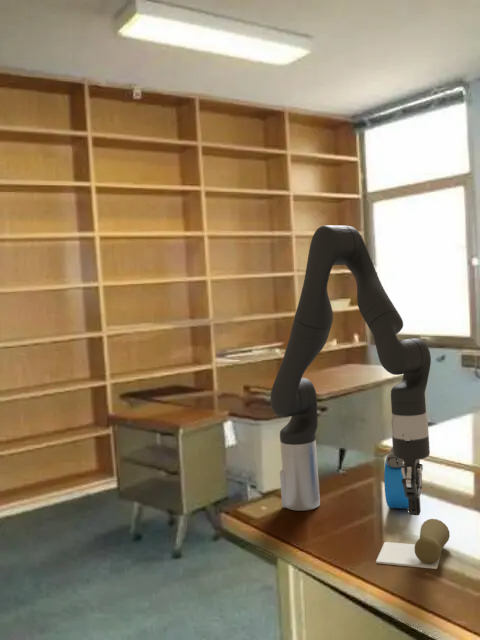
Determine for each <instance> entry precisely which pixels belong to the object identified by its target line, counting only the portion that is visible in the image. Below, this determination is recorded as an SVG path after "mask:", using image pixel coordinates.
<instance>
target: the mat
mask: <svg viewBox="0 0 480 640" xmlns="http://www.w3.org/2000/svg"><path fill="white" fill-rule="evenodd" d="M415 544H416V543H415ZM415 544H412V543H401V542H389V541H384V543H383V544H382V547H381V549H380V552H379V553H378V555H377V558H376V560H375V564H381V565H391V566H392V565H393V566H400V567H410V568H411V567H413V568H422V569H424V568H425V569H433V570H438V567H439V562H440V558H441V557H440V558H439V559H438V561H436V562H435V563H432V564H426V563H424V562H422V561H420V560H419V559H418V558H417V556H416V554H415V549H414V547H415ZM442 550H443V548H442V549H441V552H442Z"/></svg>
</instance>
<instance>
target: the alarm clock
mask: <svg viewBox="0 0 480 640" xmlns="http://www.w3.org/2000/svg"><path fill="white" fill-rule="evenodd" d="M403 463H404V460H403V459H401V458H400V459H399V458H397V457H395V456H394V455H393V446H392V447H391V448H390V450H389V453H388V454H387V455H386V457H385V462H384V477H383V478H384V483H383V484H384V497H385V502H386V506H387V507H388V508H389V509H405V510H407V512H408V511H409V502H408V498H406V496H405V492H404V488H403V484H402V479H403V475H402V471H401V467H402V466H403Z"/></svg>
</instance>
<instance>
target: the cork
mask: <svg viewBox="0 0 480 640" xmlns="http://www.w3.org/2000/svg"><path fill="white" fill-rule="evenodd" d="M450 537H451V535H450V529H449V528H448V526H447V525H446V524H445V523H444V522H443V521H442V520H439V519H436V518H430V519H427V520H424V521H423V523H422V524H421V526H420V531H419V538H418V539H417V541H416V542H415V547H414V549H415V554H416V556H417V558H418V559H419V560H420V561H422V562H424V563H426V564H432V563H435V562H436V561H438V559H439V558H441V556H442V551H441V549H442V550H443V548H444V547H445V546H446V544H447V543H448V541H449V540H450ZM439 560H440V559H439Z"/></svg>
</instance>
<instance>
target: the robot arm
mask: <svg viewBox="0 0 480 640" xmlns="http://www.w3.org/2000/svg"><path fill="white" fill-rule="evenodd" d="M333 266H346V267H347V269H348V270H349V272H350V273H351V274H352V275H353V277H354V280H355V284H356V302H357V307H358V310H359V313H360V316H362V319H363V320H364V322H365V324H366V325H367V327H368V328H369V331H370V332H371V333H372V337H373V341H374V344H375V348H376V352H377V353H376V354H377V356H378V359H379V362H380V365H381V366H382V368H384V370H385V371H387V373H389V374H391V375H395V376H399V375H403V376H402V379H401V381H400V382H399V383H397V384H395V385H394V386H393V387H392V388H391V389H390V405H391V419H390V421H391V422H390V424H391V440H392V441H391V442H392V447H393V455H394V456H395V457H397V458H399V459H400V458H401V459H403V460H404V463H403V466H402V467H401V471H402V475H403V479H402V484H403V488H404V492H405V496H406V498H408V502H409V513H408V514H409V515H411V516H420V515H421V511H422V510H421V495H422V489H423V486H422V484H423V470H424V464H423V463H422V462H420V460H423V459H427V458H428V457H429V456H430V453H431V450H430V436H429V421H428V417H427V408H426V407H427V406H426V389H427V385H428V381H429V375H430V371H431V365H432V364H431V363H432V358H431V352H430V349H429V346H428V345H427V343H425V341H424V340H423V339H420V338H416V337H415V338H407V339H401V340H400V339H398V337H397V334H399V333H400V332H401V331H402V329H403V327H404V321H403V318H402V317H401V315H400V313H399V312H398V310H397V308H396V307H395V305H394V304H393V302H392V301H391V299H390V297H389V295H388V294H387V292H386V290H385V288H384V286H383V284H382V282H381V280H380V278H379V276H378V273H377V270H376V268H375V265H374V263H373V261H372V258H371V255H370V253H369V251H368V248H367V245H366V243H365V241H364V239H363V237H362V235H361V233H360V232H359V230H358V229H356V228H355V227H354V226H350V225H332V224H331V225H329V224H328V225H321V226H320V227H318V228H316V230H315V231H314V232H313V235H312V238H311V241H310V245H309V250H308V255H307V261H306V269H305V274H304V279H303V284H302V288H301V292H300V296H299V301H298V305H297V308H296V310H295V315H294V318H293V322H292V325H291V329H290V334H289V338H288V341H287V344H286V348H285V351H284V355H283V357H282V360H281V364H280V366H279V369H278V372H277V374H276V377H275V379H274V382H273V384H272V388H271V391H270V401H269V402H270V406H271V410H272V411H273V413H274V414H275V415H276V416H278V417H281V418H288V417H291V418H290V420H289V421H288V423H287V424H286V425H285V426H284V427H282V428H281V430H279V441H280V453H281V458H280V459H281V470H280V472H279V481H280V494H281V506H282V508H283V509H284V508H285V509H288V510H292V511H297V512H299V511H301V512H302V511H310V510H311V511H312V510H314V509H316V508H318V507H319V506H321V499H320V498H321V496H320V480H319V469H318V453H317V440H316V433H317V430H318V398H317V397H318V395H317V391H316V389H315V385H314V383H312V381H311V380H310V379H308V378H306V377H303V376H304V373H306V370H307V369H308V367H309V366H310V365H311V364H312V363H313V361H314V360H315V359H316V358H317V356H318V355H319V353H321V352H322V350H323V348H324V347H325V345H326V343H327V341H328V338H329V336H330V332H331V328H332V324H333V321H334V312H333V307H332V303H331V300H330V298H329V293H328V284H329V278H330V274H331V272H332V269H333Z"/></svg>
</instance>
